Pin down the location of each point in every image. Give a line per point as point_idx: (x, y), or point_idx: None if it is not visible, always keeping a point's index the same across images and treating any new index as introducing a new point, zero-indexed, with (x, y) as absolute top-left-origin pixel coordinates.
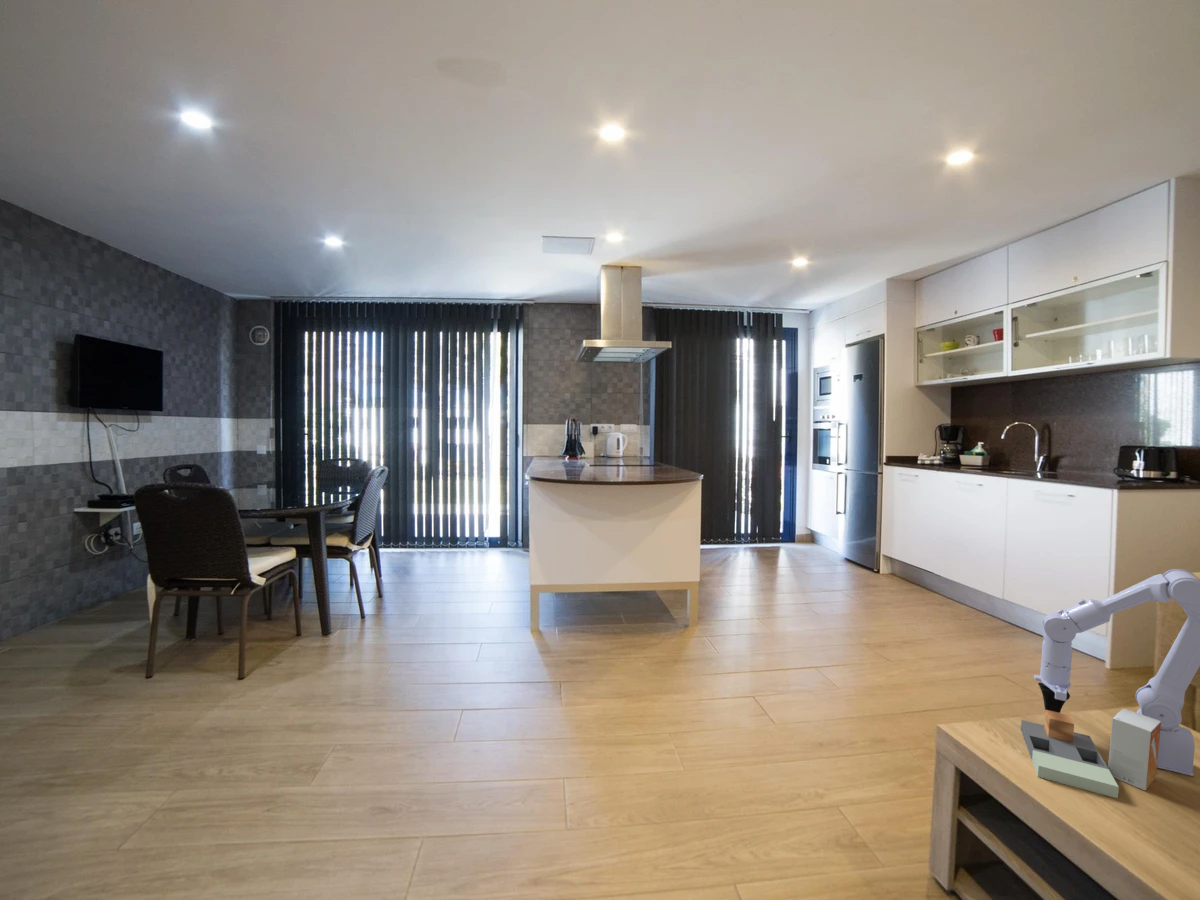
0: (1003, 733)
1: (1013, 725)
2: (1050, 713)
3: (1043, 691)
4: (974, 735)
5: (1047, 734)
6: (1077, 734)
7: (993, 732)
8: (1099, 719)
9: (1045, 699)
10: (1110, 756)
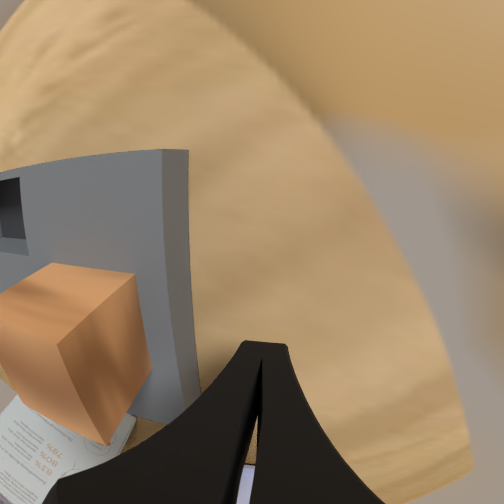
0: (104, 72)
1: (226, 116)
2: (29, 349)
3: (45, 497)
4: (57, 3)
5: (63, 265)
6: (166, 398)
7: (97, 38)
8: (429, 443)
9: (151, 437)
10: (17, 394)
